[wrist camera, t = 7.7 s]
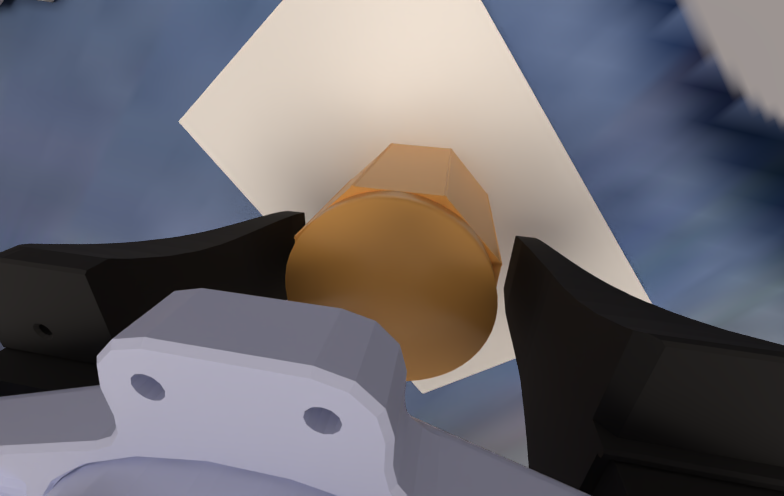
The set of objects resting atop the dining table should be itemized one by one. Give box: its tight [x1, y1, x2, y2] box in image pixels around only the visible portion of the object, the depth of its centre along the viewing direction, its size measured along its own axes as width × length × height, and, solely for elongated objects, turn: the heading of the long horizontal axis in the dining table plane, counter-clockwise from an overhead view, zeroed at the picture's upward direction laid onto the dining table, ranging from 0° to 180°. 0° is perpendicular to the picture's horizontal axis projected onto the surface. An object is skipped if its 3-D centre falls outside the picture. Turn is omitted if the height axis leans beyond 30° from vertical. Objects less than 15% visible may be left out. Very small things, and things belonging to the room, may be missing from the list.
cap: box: [285, 143, 503, 381], centre depth 12 cm, size 6×6×6 cm
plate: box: [179, 0, 652, 394], centre depth 14 cm, size 18×12×5 cm, turn 38°
